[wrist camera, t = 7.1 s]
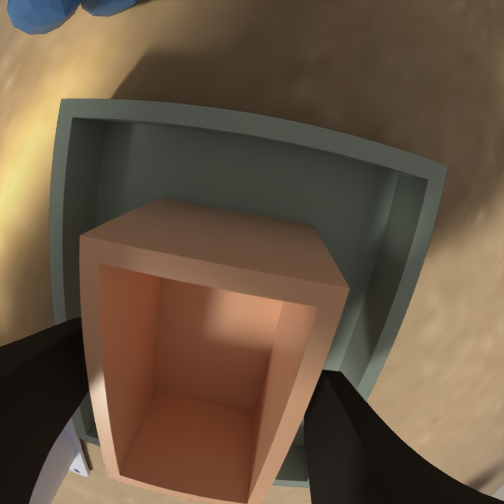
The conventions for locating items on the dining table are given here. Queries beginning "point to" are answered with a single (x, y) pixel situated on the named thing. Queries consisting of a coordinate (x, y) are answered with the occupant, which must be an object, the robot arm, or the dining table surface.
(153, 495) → the dining table surface
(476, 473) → the dining table surface
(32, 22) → the grapes
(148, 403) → the small crate
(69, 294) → the base crate
